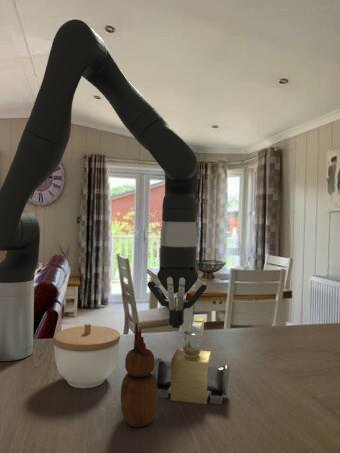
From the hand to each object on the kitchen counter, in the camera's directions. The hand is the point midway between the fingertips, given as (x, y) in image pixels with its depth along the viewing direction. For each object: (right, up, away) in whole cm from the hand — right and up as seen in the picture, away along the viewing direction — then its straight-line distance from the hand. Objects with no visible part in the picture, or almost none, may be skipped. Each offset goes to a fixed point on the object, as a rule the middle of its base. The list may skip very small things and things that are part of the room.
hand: (176, 327), depth 79 cm
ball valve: (+2, -10, -9) cm, 14 cm away
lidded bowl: (-18, -10, -4) cm, 21 cm away
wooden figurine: (-6, -10, -19) cm, 22 cm away
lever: (+4, -2, -4) cm, 6 cm away
